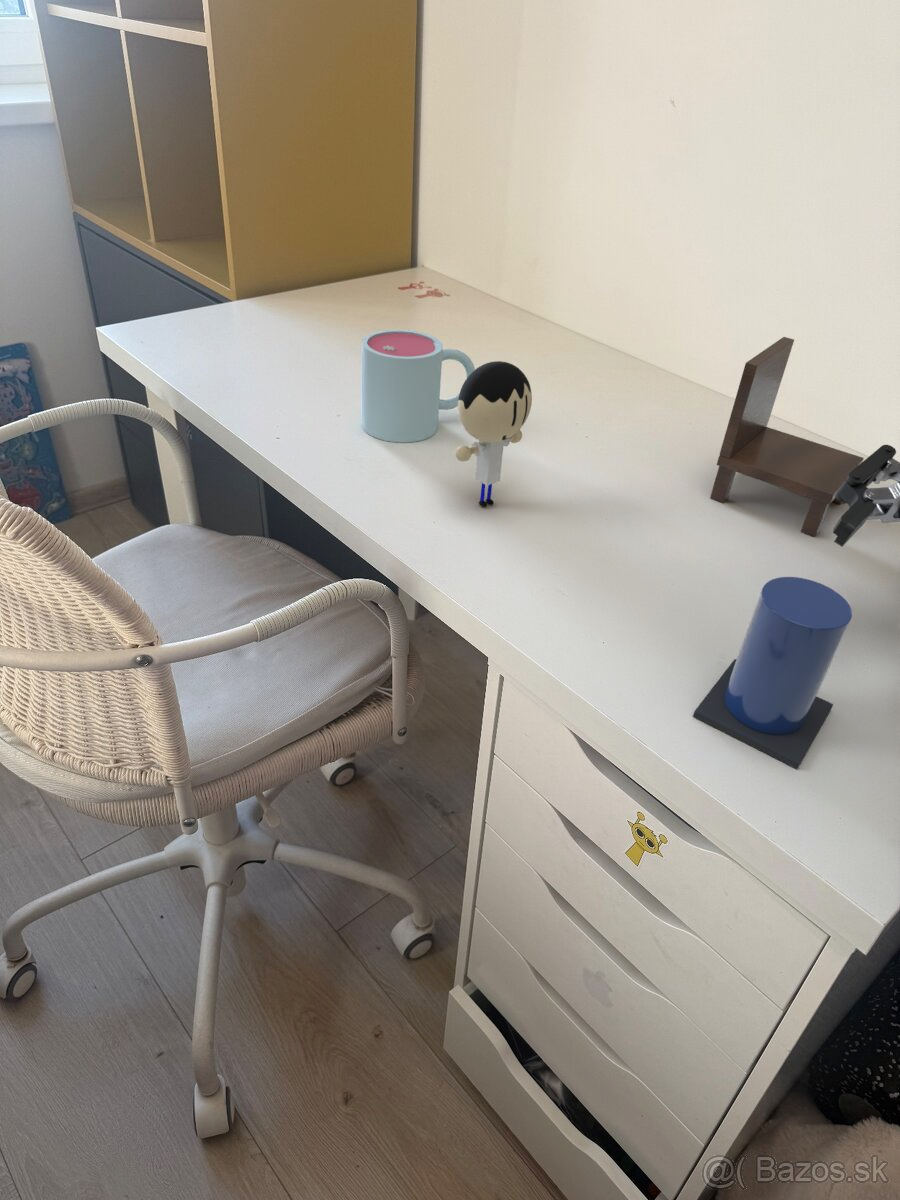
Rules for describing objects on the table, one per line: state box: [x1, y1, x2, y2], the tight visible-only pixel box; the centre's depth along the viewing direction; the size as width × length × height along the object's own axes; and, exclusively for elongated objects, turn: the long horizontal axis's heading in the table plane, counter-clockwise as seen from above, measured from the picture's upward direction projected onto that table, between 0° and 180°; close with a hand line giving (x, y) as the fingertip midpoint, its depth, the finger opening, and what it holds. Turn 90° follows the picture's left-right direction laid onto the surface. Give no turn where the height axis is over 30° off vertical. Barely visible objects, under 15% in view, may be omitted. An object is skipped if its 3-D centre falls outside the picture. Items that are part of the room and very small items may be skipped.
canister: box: [724, 576, 853, 735], centre depth 60 cm, size 6×6×10 cm
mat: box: [692, 658, 834, 770], centre depth 63 cm, size 8×8×1 cm
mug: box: [361, 329, 476, 444], centre depth 97 cm, size 14×9×10 cm
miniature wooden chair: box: [709, 336, 865, 538], centre depth 86 cm, size 12×11×15 cm
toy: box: [454, 360, 533, 508], centre depth 81 cm, size 9×7×15 cm
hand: (894, 571), depth 61 cm, fingers open, 8 cm apart
